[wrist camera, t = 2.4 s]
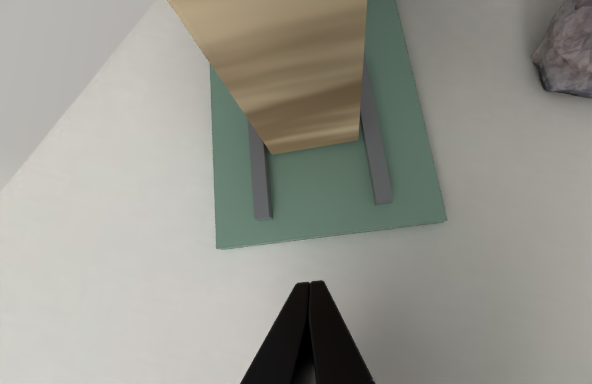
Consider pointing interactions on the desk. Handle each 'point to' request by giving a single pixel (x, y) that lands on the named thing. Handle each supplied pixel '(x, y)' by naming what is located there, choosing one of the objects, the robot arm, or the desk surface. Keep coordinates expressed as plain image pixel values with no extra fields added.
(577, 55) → the geode
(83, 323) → the desk surface
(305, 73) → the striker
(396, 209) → the board
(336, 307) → the robot arm
